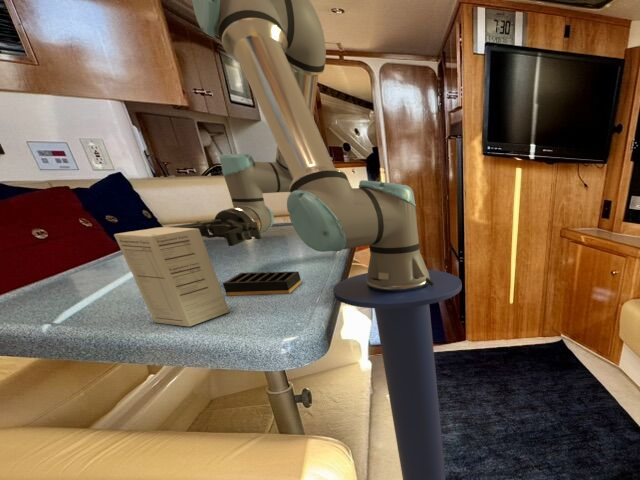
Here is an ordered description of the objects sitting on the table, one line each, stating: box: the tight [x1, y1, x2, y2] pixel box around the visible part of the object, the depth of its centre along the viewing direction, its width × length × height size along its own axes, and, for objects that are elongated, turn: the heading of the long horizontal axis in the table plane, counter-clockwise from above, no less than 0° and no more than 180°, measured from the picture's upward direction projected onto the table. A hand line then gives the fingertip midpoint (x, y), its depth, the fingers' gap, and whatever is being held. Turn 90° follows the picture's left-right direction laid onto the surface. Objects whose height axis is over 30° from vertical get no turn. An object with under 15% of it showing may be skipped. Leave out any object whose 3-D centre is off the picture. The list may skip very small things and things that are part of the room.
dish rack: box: [222, 271, 302, 296], centre depth 98 cm, size 14×10×3 cm
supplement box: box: [113, 226, 230, 328], centre depth 77 cm, size 10×9×17 cm
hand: (193, 239), depth 83 cm, fingers open, 13 cm apart
